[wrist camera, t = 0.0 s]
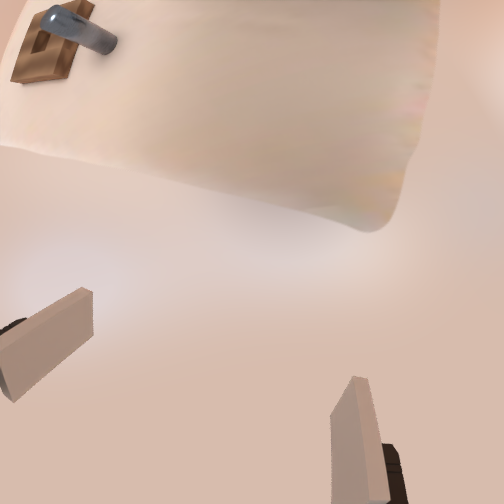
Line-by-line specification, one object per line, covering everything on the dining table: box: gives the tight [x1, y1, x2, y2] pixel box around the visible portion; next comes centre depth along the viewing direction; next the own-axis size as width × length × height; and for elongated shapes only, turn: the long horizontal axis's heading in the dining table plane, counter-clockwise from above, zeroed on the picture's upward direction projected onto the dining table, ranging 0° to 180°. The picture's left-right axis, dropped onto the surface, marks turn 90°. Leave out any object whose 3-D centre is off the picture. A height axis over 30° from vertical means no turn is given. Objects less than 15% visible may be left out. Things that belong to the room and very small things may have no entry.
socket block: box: [10, 0, 95, 84], centre depth 35 cm, size 16×16×4 cm
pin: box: [40, 5, 117, 55], centre depth 29 cm, size 4×4×15 cm
